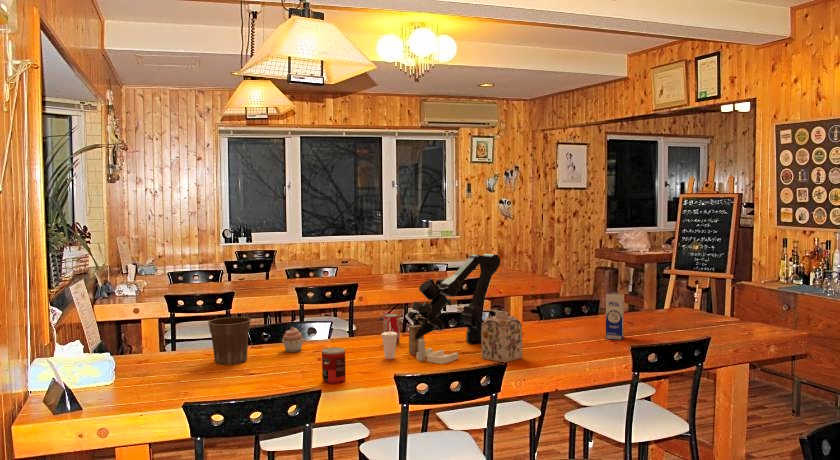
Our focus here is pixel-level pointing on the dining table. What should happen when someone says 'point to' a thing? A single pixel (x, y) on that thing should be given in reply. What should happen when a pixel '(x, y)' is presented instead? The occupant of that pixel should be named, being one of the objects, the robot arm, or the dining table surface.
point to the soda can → (392, 324)
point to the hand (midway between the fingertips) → (413, 337)
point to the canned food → (333, 365)
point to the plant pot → (230, 339)
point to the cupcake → (293, 340)
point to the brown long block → (414, 339)
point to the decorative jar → (501, 338)
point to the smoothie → (389, 343)
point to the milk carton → (614, 316)
